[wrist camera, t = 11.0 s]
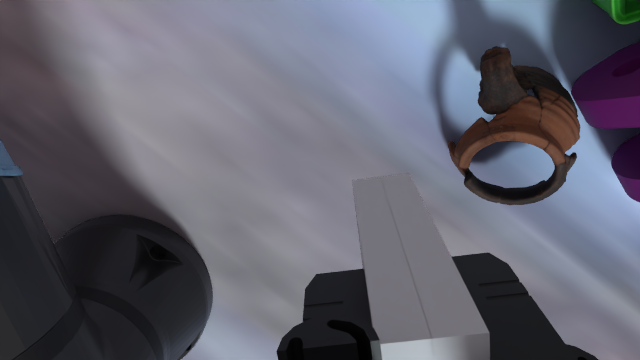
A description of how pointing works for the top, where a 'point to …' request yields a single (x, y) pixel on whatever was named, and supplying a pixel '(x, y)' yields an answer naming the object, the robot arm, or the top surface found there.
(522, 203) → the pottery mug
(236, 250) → the top surface
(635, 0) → the fruit basket
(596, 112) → the mounting bracket
